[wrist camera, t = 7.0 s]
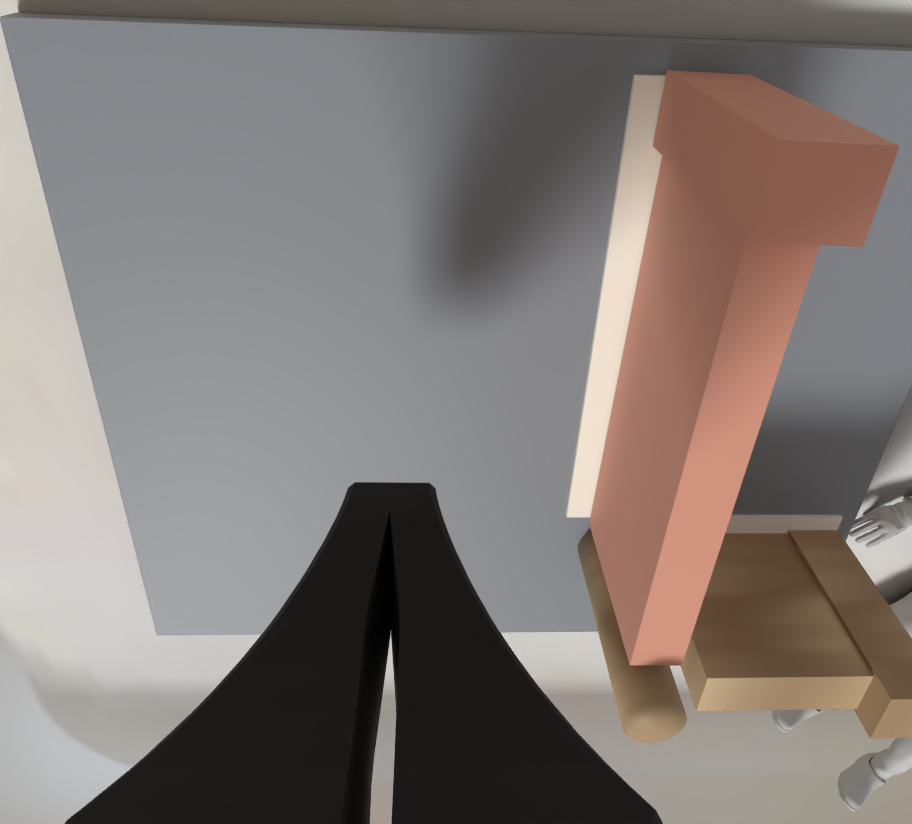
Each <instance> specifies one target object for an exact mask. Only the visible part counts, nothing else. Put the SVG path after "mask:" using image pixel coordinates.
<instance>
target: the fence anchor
mask: <svg viewBox="0 0 912 824" xmlns="http://www.w3.org/2000/svg"><path fill="white" fill-rule="evenodd" d="M577 549H578V554H579V558H580V562H581V566H582V570H583V574H584V578H585V582H586V586H587V590H588V594H589V597H590V601H591V605H592V609H593V613H594V617H595V621H596V625H597V629H598V633H599V637H600V640H601V644H602V648H603V652H604V656H605V660H606V664H607V668H608V672H609V676H610V679H611V683H612V687H613V691H614V695H615V699H616V703H617V707H618V711H619V715H620V719H621V722H622V726H623V730H624V732H625V734H626V735H627V736H628V737H629V738H631V739H633V740H636V741H640V742H658V741H662V740H665V739H668V738H670V737H672V736H674V735H676V734H677V733H679V732H680V731H681V730H682V729H683V727H684V726H685V724H686V720H687V717H686V713H685V710H684V707H683V704H682V701H681V698H680V695H679V693H678V690H677V687H676V684H675V681H674V678H673V675H672V672H671V669H670V666H669V665H630V664H629V661H628V657H627V654H626V650H625V647H624V644H623V640H622V637H621V633H620V630H619V626H618V623H617V619H616V616H615V612H614V609H613V605H612V602H611V598H610V595H609V591H608V588H607V584H606V581H605V577H604V574H603V570H602V567H601V563H600V560H599V556H598V553H597V549H596V546H595V542H594V539H593V535H592V532H591V531H590V532H588V533H587V534H585V535H584V536H583V537H582V538H581V540H580V541H579V544H578V548H577ZM681 668H682V671H683V674H684V677H685V680H686V682H687V685H688V688H689V691H690V694H691V697H692V699H693V702H694V705H695V708H696V711H731V710H797V709H854V710H855V712H856V714H857V716H858V717H859V719H860V721H861V723H862V725H863V726H864V728H865V730H866V732H867V734H868V735H869V737H870V738H912V638H911V637H910V635H909V634H908V632H907V631H906V629H905V628H904V626H903V625H902V624H901V622H900V621H899V619H898V618H897V616H896V615H895V613H894V612H893V610H892V609H891V607H890V606H889V605H888V603H887V602H886V600H885V599H884V597H883V596H882V594H881V593H880V591H879V590H878V589H877V587H876V586H875V584H874V583H873V581H872V580H871V578H870V577H869V575H868V574H867V573H866V571H865V570H864V568H863V567H862V565H861V564H860V562H859V561H858V559H857V558H856V556H855V555H854V554H853V552H852V551H851V549H850V548H849V546H848V545H847V543H846V542H845V540H844V539H843V538H842V536H841V535H840V533H839V532H838V530H789V531H788V533H725V536H724V539H723V542H722V545H721V548H720V551H719V554H718V557H717V560H716V563H715V566H714V569H713V572H712V575H711V578H710V581H709V584H708V587H707V590H706V593H705V596H704V599H703V602H702V605H701V608H700V611H699V615H698V618H697V621H696V624H695V627H694V630H693V633H692V636H691V639H690V642H689V645H688V648H687V651H686V654H685V657H684V660H683V663H682V665H681Z"/></svg>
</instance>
